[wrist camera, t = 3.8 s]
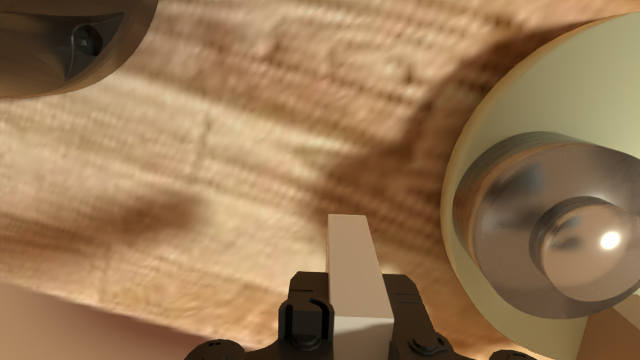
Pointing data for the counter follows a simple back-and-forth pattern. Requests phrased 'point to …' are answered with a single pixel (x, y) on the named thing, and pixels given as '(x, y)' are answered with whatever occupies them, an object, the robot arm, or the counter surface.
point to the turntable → (572, 120)
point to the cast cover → (552, 223)
